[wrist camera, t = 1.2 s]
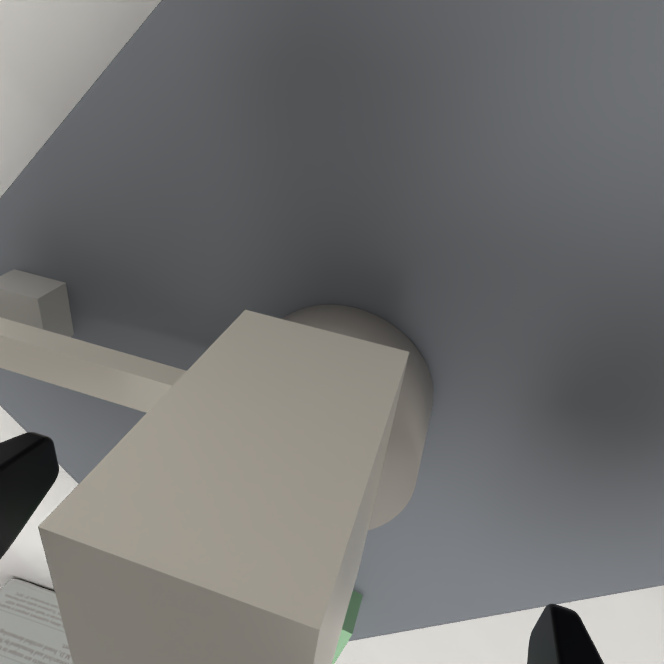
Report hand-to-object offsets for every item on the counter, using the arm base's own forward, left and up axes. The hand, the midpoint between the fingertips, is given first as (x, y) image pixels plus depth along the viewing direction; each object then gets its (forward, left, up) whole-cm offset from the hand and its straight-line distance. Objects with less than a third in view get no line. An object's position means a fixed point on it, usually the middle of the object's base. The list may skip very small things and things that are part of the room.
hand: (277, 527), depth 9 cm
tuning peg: (+3, -3, -4) cm, 6 cm away
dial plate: (0, 0, -6) cm, 6 cm away
